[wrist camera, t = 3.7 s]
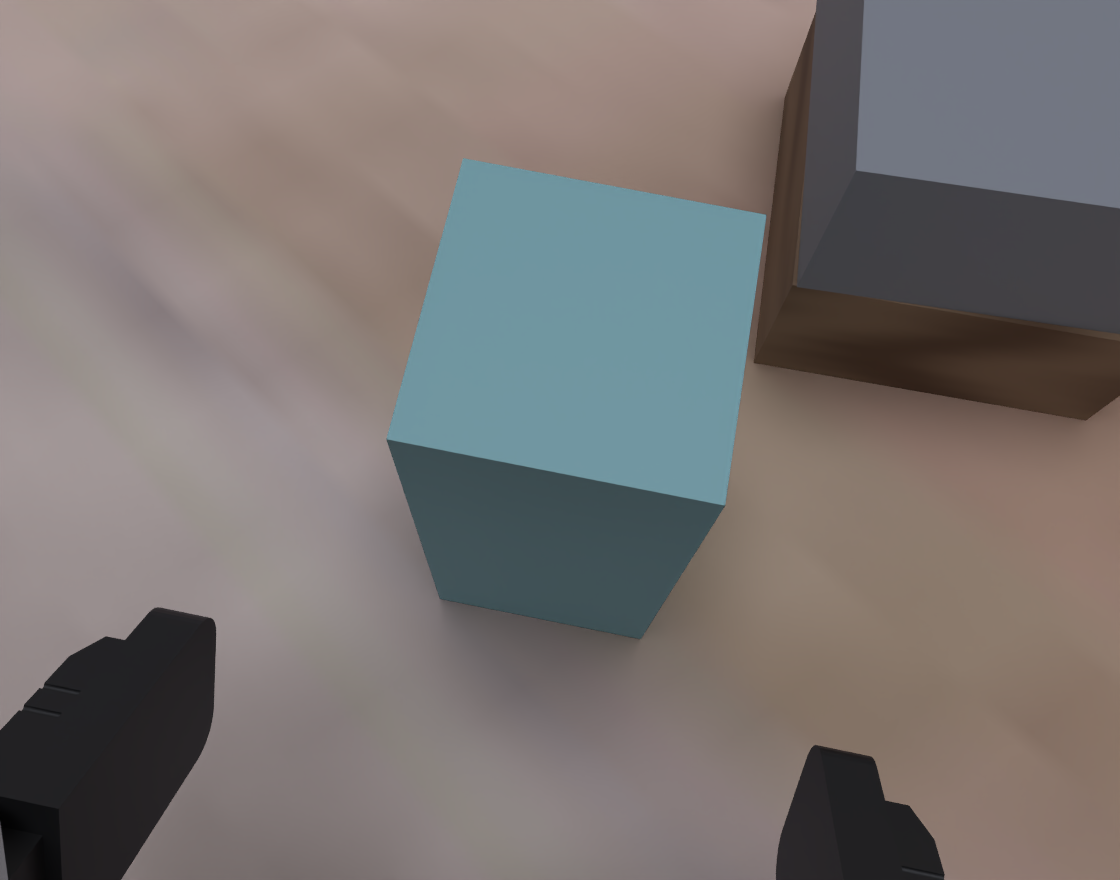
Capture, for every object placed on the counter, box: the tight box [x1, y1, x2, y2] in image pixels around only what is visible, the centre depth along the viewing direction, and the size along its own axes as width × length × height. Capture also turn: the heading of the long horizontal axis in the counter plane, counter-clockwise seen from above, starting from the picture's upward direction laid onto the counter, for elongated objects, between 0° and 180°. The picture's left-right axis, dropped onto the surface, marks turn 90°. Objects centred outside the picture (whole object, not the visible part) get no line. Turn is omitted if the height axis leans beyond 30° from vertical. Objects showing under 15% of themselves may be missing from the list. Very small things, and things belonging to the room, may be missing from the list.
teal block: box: [387, 158, 766, 639], centre depth 21 cm, size 5×5×11 cm
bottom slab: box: [754, 13, 1120, 420], centre depth 28 cm, size 9×9×4 cm
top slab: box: [797, 0, 1120, 334], centre depth 23 cm, size 9×9×4 cm
